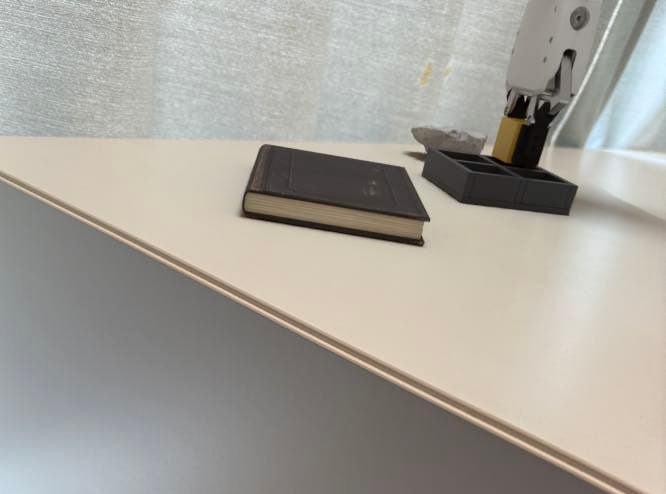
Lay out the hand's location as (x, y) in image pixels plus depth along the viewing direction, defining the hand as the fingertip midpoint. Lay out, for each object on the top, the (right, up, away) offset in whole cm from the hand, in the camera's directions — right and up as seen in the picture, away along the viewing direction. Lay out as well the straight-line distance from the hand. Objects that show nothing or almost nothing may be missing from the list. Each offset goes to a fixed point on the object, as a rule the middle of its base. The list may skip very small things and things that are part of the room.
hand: (515, 158), depth 93 cm
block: (0, 0, 0) cm, 0 cm away
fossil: (-5, +6, +14) cm, 16 cm away
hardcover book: (-23, -12, -16) cm, 31 cm away
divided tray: (-3, -5, -1) cm, 6 cm away
